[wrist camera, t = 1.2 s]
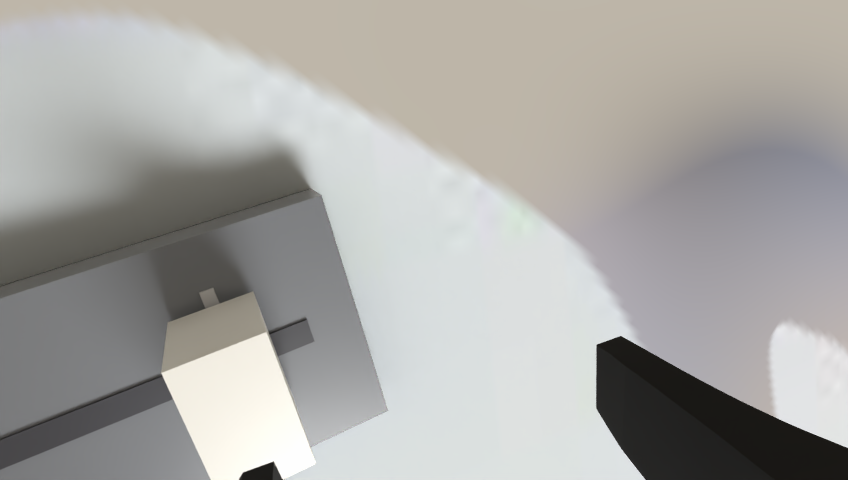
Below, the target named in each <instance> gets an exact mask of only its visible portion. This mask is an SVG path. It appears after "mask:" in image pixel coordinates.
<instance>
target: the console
mask: <svg viewBox="0 0 848 480" xmlns="http://www.w3.org/2000/svg"><path fill="white" fill-rule="evenodd" d="M250 292H254V295H255V298H256V300H257V303H258V305H259V308H260V311H261V313H262V316H263V319H264V321H265V324H266V327H267V329H268V332H269V335H270V337H271V340H272V343H273V345H274V348H275V351H276V353H277V356H278V359H279V361H280V364H281V367H282V369H283V372H284V375H285V377H286V380H287V382H288V385H289V388H290V390H291V393H292V396H293V398H294V401H295V404H296V407H297V410H298V412H299V415H300V418H301V421H302V424H303V427H304V430H305V433H306V436H307V438H308V441H309V444H310V447H312V446H314V445H316V444H318V443H320V442H323V441H325V440H327V439H329V438H331V437H333V436H335V435H337V434H340V433H342V432H344V431H346V430H348V429H350V428H352V427H354V426H357V425H359V424H361V423H363V422H365V421H367V420H369V419H371V418H374V417H376V416H378V415H380V414H382V413H384V412H386V411H388V409H387V406H386V402H385V399H384V396H383V393H382V389H381V386H380V383H379V380H378V377H377V373H376V370H375V367H374V364H373V360H372V357H371V354H370V351H369V347H368V344H367V341H366V338H365V335H364V331H363V328H362V325H361V322H360V318H359V315H358V312H357V309H356V306H355V302H354V299H353V296H352V293H351V289H350V286H349V283H348V280H347V277H346V273H345V270H344V267H343V264H342V260H341V257H340V254H339V251H338V247H337V244H336V241H335V238H334V235H333V231H332V228H331V225H330V222H329V218H328V215H327V212H326V209H325V206H324V202H323V199H322V196H321V195H320V194H318V193H317V192H315V191H314V190H312V189H308V190H305V191H302V192H299V193H296V194H293V195H289V196H286V197H283V198H280V199H277V200H273V201H270V202H267V203H264V204H261V205H258V206H254V207H251V208H248V209H245V210H242V211H239V212H235V213H232V214H229V215H226V216H223V217H219V218H216V219H213V220H210V221H207V222H204V223H200V224H197V225H194V226H191V227H188V228H185V229H181V230H178V231H175V232H172V233H169V234H165V235H162V236H159V237H156V238H153V239H150V240H146V241H143V242H140V243H137V244H134V245H131V246H127V247H124V248H121V249H118V250H115V251H111V252H108V253H105V254H102V255H99V256H96V257H92V258H89V259H86V260H83V261H80V262H77V263H73V264H70V265H67V266H64V267H61V268H58V269H54V270H51V271H48V272H45V273H42V274H38V275H35V276H32V277H29V278H26V279H23V280H19V281H16V282H13V283H10V284H7V285H4V286H0V480H211V479H210V477H209V475H208V473H207V471H206V468H205V466H204V464H203V462H202V460H201V458H200V456H199V453H198V451H197V449H196V447H195V445H194V443H193V441H192V438H191V436H190V434H189V432H188V430H187V428H186V425H185V423H184V421H183V419H182V417H181V415H180V413H179V410H178V408H177V406H176V404H175V402H174V400H173V398H172V395H171V393H170V391H169V389H168V387H167V385H166V382H165V380H164V378H163V376H162V374H161V370H162V363H163V355H164V347H165V339H166V332H167V324H168V322H170V321H173V320H176V319H179V318H181V317H184V316H187V315H190V314H192V313H195V312H198V311H201V310H203V309H206V308H209V307H212V306H214V305H217V304H220V303H223V302H225V301H228V300H231V299H234V298H236V297H239V296H242V295H245V294H247V293H250Z"/></svg>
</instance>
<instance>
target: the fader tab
mask: <svg viewBox="0 0 848 480" xmlns="http://www.w3.org/2000/svg"><path fill="white" fill-rule="evenodd" d="M161 374H162V376H163V378H164V380H165V382H166V385H167V387H168V389H169V391H170V393H171V395H172V398H173V400H174V402H175V404H176V406H177V408H178V410H179V413H180V415H181V417H182V419H183V421H184V423H185V425H186V428H187V430H188V432H189V434H190V436H191V438H192V441H193V443H194V445H195V447H196V449H197V451H198V453H199V456H200V458H201V460H202V462H203V464H204V466H205V468H206V471H207V473H208V475H209V477H210V479H211V480H239V478H240V476H241V475H242V473H243V472H246V471H248V470H251V469H254V468H257V467H259V466H262V465H265V464H268V463H270V462H273V461H274V463H275V465H276V467H277V469H278V471H279V473H280V475H281V477H282V479H285V478H287V477H289V476H291V475H294V474H296V473H298V472H300V471H302V470H304V469H306V468H308V467H310V466H312V465H314V464H316V462H315V459H314V456H313V453H312V450H311V447H310V444H309V441H308V438H307V436H306V433H305V430H304V427H303V424H302V421H301V418H300V415H299V412H298V410H297V407H296V404H295V401H294V398H293V396H292V393H291V390H290V388H289V385H288V382H287V380H286V377H285V375H284V372H283V369H282V367H281V364H280V361H279V359H278V356H277V353H276V351H275V348H274V345H273V343H272V340H271V337H270V335H269V332H268V329H267V327H266V324H265V321H264V319H263V316H262V313H261V311H260V308H259V305H258V303H257V300H256V298H255V295H254V292H250V293H247V294H245V295H242V296H239V297H236V298H234V299H231V300H228V301H225V302H223V303H220V304H217V305H214V306H212V307H209V308H206V309H203V310H201V311H198V312H195V313H192V314H190V315H187V316H184V317H181V318H179V319H176V320H173V321H170V322H168V324H167V332H166V339H165V347H164V355H163V363H162V370H161Z"/></svg>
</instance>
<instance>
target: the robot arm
mask: <svg viewBox="0 0 848 480" xmlns="http://www.w3.org/2000/svg"><path fill="white" fill-rule="evenodd" d="M596 408H597V410H598V412H599V413H600V415H601V417H602V418H603V420H604V422H605V423H606V425H607V427H608V428H609V430H610V432H611V433H612V435H613V436H614V438H615V439H616V441H617V442H618V444H619V446H620V447H621V449H622V450H623V451H624V453H625V454H626V455H627V457H628V458H629V459H630V460H631V462H632V463H633V464H634V465H635V467H636V468H637V469H638V471H639V472H640V473H641V474H642V476H643V477H644V478H645V479H646V480H848V448H846V447H844V446H841V445H839V444H836V443H834V442H831V441H829V440H826V439H824V438H821V437H819V436H817V435H814V434H812V433H809V432H807V431H804V430H802V429H800V428H797V427H795V426H793V425H790V424H788V423H786V422H784V421H781V420H779V419H777V418H775V417H773V416H771V415H769V414H766V413H764V412H762V411H760V410H758V409H756V408H754V407H752V406H750V405H747V404H745V403H743V402H741V401H739V400H737V399H735V398H733V397H731V396H729V395H727V394H725V393H724V392H722V391H720V390H718V389H716V388H714V387H712V386H710V385H708V384H706V383H704V382H703V381H701V380H699V379H697V378H695V377H693V376H691V375H690V374H688V373H686V372H684V371H682V370H680V369H679V368H677V367H675V366H673V365H672V364H670V363H668V362H666V361H664V360H663V359H661V358H659V357H657V356H655V355H654V354H652V353H650V352H648V351H647V350H645V349H643V348H641V347H640V346H638V345H636V344H634V343H633V342H631V341H629V340H627V339H625V338H623V337H622V336H620V337H617V338H614V339H611V340H609V341H606V342H603V343H600V344H598V345H597V377H596ZM239 480H283V479H282V477H281V475H280V473H279V471H278V469H277V467H276V465H275V463H274V461H273V462H270V463H268V464H265V465H262V466H259V467H257V468H254V469H251V470H248V471H246V472H243V473H242V475H241V476H240V478H239Z"/></svg>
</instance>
